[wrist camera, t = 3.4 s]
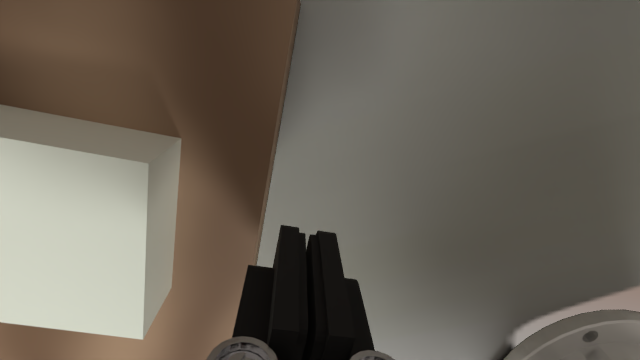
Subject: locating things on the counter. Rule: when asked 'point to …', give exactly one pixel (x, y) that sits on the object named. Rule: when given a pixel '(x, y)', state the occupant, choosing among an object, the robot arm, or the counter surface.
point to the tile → (85, 223)
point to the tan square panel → (171, 120)
